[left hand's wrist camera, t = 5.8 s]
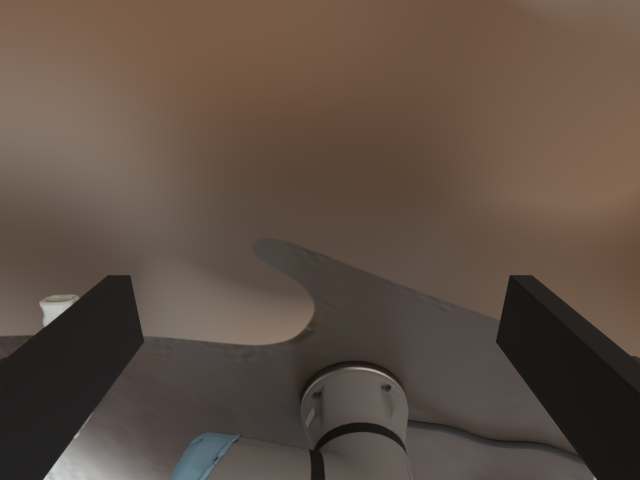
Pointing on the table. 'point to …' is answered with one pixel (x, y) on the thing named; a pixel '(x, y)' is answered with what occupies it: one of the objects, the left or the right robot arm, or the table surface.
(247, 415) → the table surface
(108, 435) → the table surface
